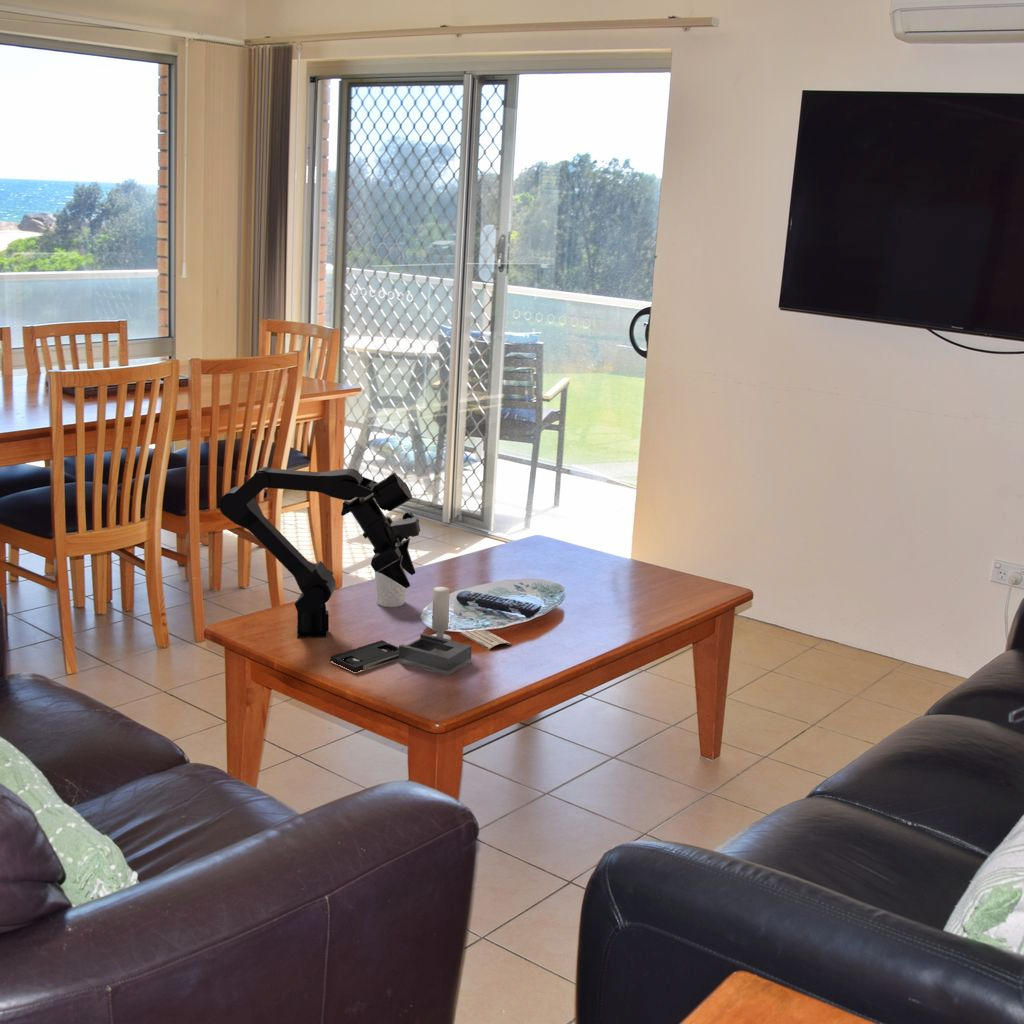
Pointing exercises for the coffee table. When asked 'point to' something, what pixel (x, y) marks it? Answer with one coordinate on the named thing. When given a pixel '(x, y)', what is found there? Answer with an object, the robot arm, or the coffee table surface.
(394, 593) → the white cup
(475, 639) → the newspaper
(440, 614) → the post
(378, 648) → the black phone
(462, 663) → the keyhole plate
